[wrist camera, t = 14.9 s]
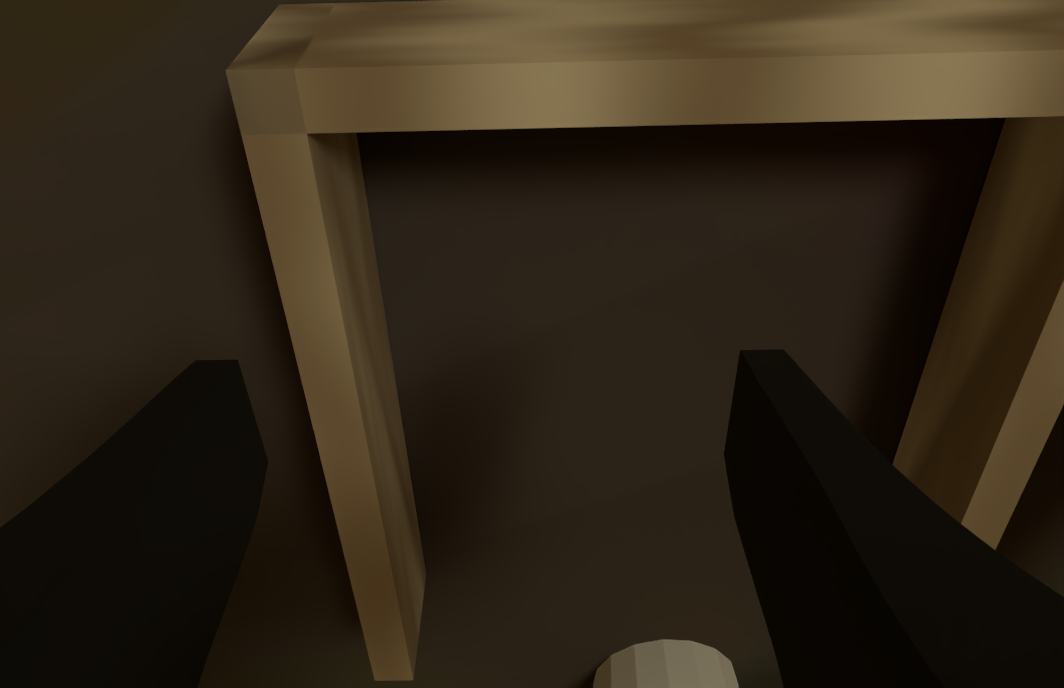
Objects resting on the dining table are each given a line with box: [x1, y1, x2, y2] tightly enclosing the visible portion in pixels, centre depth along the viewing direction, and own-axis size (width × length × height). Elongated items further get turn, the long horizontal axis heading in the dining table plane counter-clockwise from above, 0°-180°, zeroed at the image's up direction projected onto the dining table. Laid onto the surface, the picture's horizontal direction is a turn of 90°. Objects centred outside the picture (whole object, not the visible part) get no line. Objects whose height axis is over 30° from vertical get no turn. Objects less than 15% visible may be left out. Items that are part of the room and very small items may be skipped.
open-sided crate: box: [226, 0, 1064, 681], centre depth 22 cm, size 17×19×4 cm
